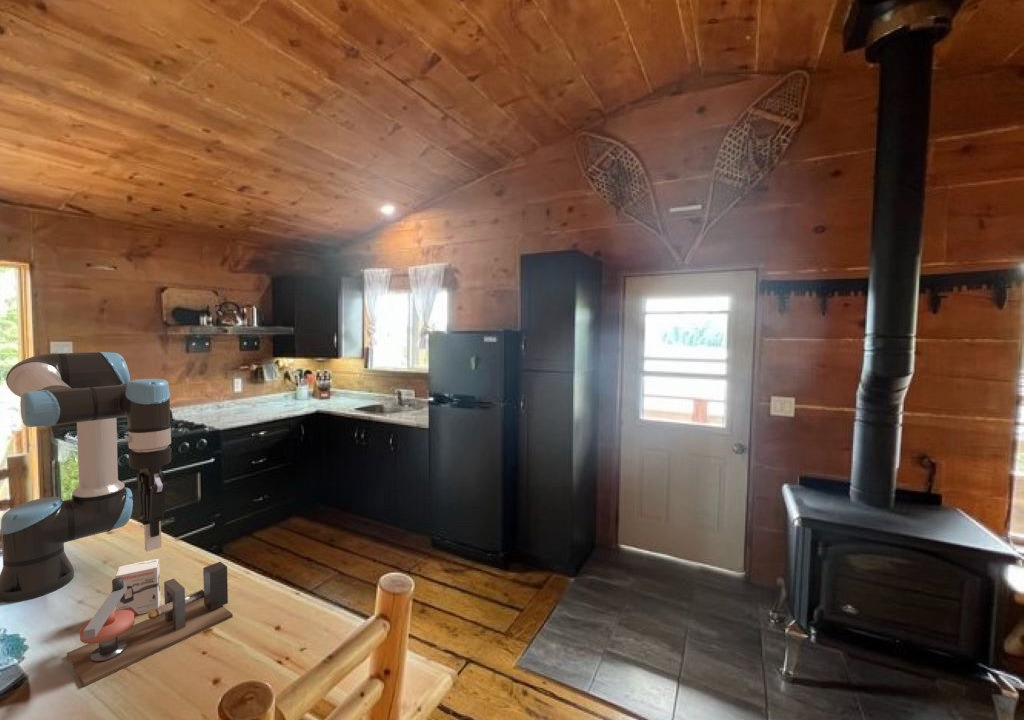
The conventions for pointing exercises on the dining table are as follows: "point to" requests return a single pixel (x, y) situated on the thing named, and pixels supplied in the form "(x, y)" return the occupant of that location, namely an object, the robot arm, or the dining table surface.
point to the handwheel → (108, 617)
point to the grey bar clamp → (212, 593)
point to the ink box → (140, 586)
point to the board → (146, 641)
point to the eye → (175, 603)
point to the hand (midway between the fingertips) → (153, 548)
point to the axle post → (108, 650)
